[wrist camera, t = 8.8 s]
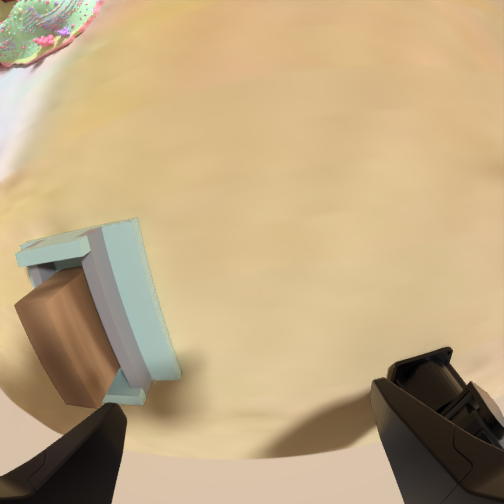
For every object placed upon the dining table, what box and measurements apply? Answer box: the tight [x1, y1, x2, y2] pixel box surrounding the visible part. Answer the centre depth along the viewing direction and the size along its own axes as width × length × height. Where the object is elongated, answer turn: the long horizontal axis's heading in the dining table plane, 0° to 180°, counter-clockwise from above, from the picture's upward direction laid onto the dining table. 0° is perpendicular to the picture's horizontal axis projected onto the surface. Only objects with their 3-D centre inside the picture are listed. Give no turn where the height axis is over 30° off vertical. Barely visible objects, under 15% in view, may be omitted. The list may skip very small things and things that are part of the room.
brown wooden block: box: [14, 266, 121, 409], centre depth 17 cm, size 3×8×6 cm, turn 8°
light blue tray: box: [15, 218, 182, 406], centre depth 19 cm, size 11×13×4 cm
